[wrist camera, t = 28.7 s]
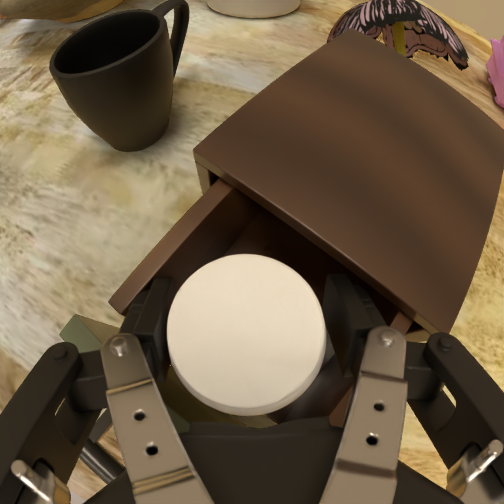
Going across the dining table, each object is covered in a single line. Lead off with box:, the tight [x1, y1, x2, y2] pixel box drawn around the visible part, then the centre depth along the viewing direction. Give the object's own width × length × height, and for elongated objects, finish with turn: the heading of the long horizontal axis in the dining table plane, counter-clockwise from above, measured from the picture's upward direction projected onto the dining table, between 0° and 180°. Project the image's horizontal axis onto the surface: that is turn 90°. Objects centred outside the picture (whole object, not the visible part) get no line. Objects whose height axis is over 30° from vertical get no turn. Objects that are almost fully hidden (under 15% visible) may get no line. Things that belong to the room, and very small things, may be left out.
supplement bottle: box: [167, 254, 327, 416], centre depth 12 cm, size 5×5×10 cm
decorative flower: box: [327, 0, 469, 71], centre depth 23 cm, size 15×12×15 cm
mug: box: [49, 0, 189, 152], centre depth 20 cm, size 8×12×10 cm
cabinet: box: [193, 28, 504, 342], centre depth 18 cm, size 15×13×9 cm
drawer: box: [59, 177, 413, 484], centre depth 14 cm, size 19×11×7 cm, turn 142°
